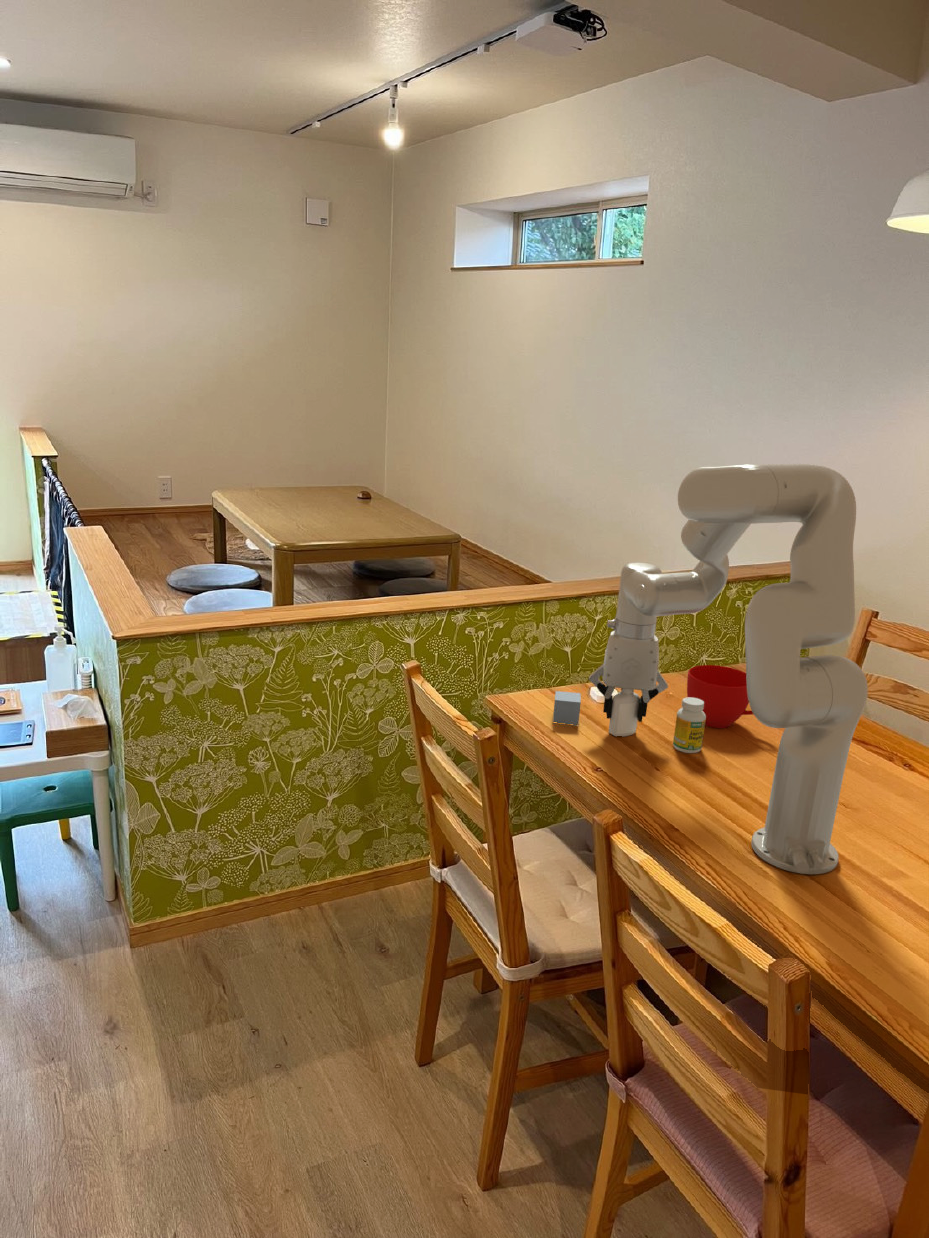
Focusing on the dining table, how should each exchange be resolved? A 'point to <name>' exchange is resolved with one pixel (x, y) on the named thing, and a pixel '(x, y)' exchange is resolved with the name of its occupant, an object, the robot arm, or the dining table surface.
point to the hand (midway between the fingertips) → (624, 716)
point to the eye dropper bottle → (624, 713)
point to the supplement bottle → (689, 726)
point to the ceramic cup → (719, 693)
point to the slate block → (567, 707)
